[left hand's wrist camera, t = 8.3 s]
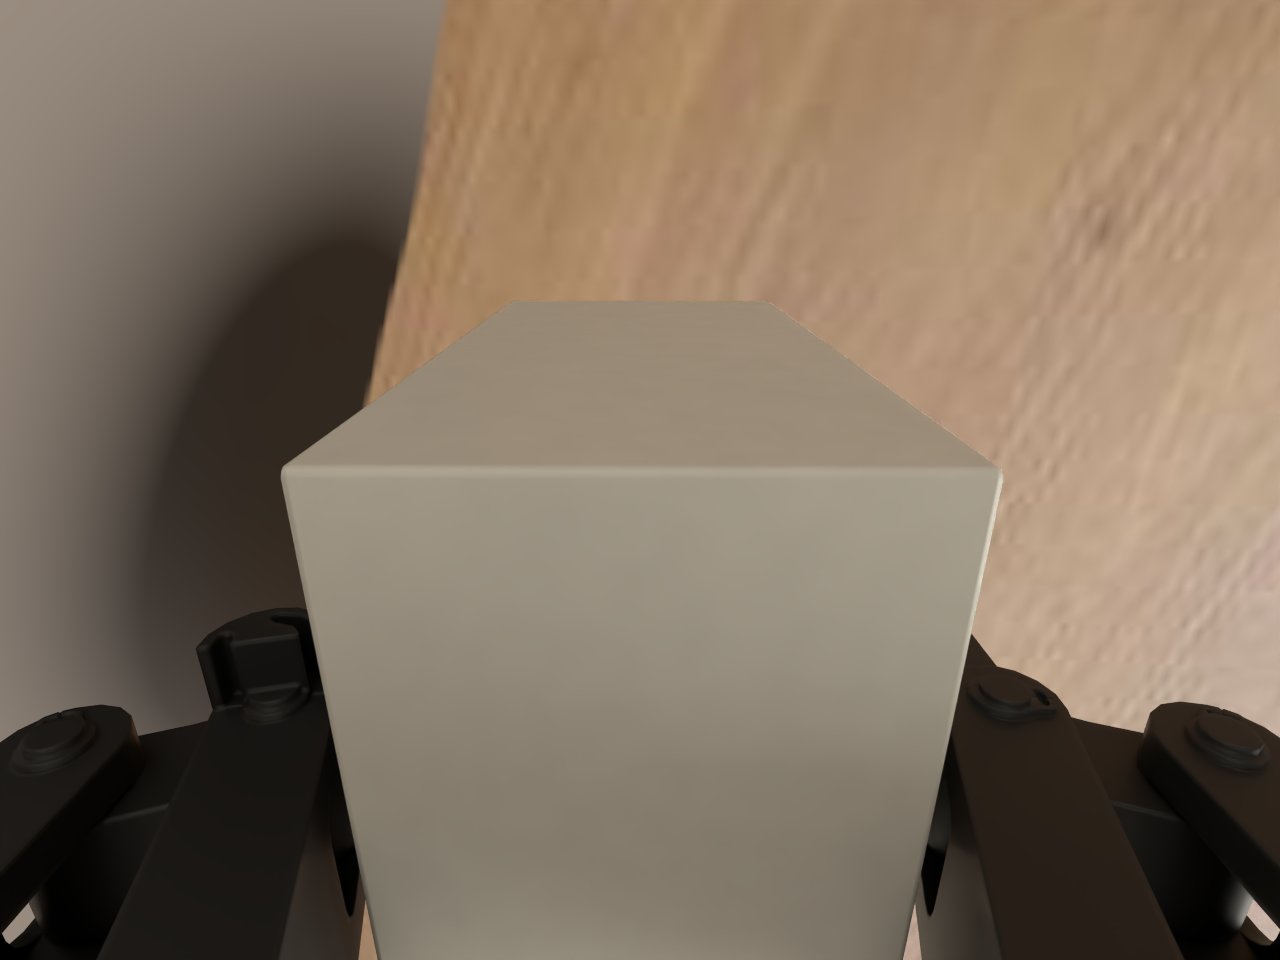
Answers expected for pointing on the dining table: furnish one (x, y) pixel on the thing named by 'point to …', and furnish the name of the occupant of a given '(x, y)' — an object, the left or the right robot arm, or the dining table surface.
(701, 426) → the bar
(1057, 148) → the dining table surface
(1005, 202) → the dining table surface
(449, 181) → the dining table surface
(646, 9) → the dining table surface
